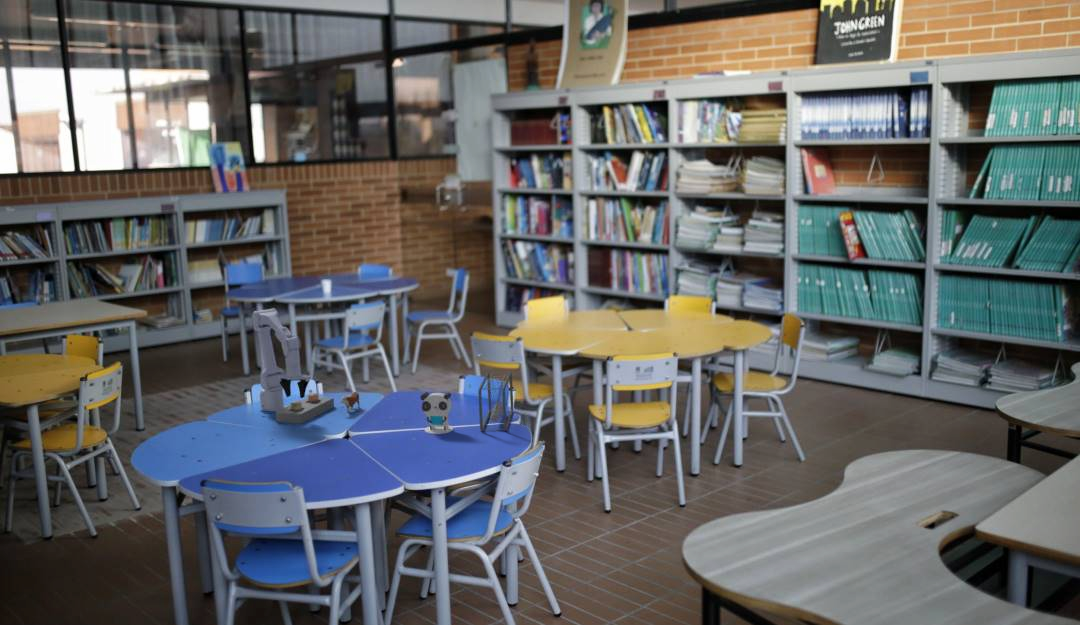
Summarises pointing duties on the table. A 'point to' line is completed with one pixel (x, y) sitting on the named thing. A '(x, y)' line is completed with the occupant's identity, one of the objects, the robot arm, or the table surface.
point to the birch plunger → (296, 406)
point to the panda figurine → (437, 412)
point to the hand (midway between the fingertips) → (295, 396)
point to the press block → (304, 411)
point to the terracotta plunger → (313, 398)
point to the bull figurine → (350, 400)
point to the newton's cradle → (498, 406)
